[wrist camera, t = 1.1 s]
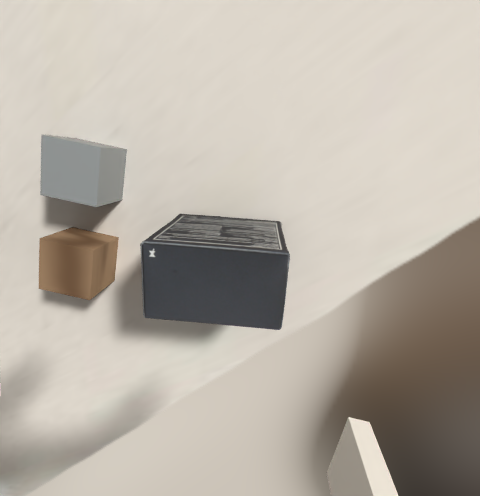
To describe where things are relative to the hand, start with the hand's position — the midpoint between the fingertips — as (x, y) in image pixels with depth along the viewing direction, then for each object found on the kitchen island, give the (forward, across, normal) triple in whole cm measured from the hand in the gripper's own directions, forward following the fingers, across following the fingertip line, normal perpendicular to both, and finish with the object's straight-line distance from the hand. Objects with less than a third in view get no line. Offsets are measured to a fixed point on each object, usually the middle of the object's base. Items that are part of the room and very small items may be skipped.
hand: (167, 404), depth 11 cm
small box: (+21, 0, 0) cm, 21 cm away
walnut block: (+21, -14, -4) cm, 26 cm away
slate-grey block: (+21, -14, +5) cm, 26 cm away
